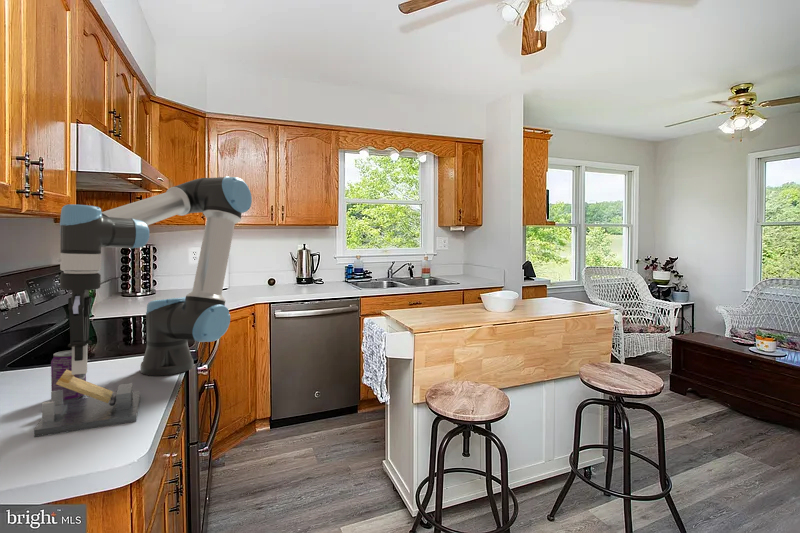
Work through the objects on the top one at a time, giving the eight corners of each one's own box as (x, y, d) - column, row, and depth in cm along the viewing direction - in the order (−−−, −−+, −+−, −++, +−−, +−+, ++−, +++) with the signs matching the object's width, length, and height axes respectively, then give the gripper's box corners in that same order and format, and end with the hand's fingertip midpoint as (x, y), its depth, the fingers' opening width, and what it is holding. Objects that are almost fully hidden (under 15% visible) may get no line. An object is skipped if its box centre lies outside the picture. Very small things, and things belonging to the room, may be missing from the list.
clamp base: (54, 407, 103) (53, 385, 103) (140, 396, 112) (140, 376, 112) (34, 437, 87) (33, 411, 87) (136, 421, 96) (136, 397, 96)
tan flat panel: (61, 376, 99) (67, 367, 100) (116, 397, 105) (122, 388, 105) (54, 385, 93) (61, 375, 94) (113, 406, 99) (119, 397, 99)
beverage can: (81, 391, 115) (81, 348, 114) (89, 397, 110) (89, 352, 110) (48, 398, 109) (47, 352, 109) (55, 405, 105) (54, 357, 104)
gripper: (66, 270, 101) (65, 367, 102) (53, 273, 90) (52, 383, 90) (104, 270, 105) (102, 364, 105) (96, 273, 93) (95, 379, 94)
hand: (79, 373), depth 98 cm, fingers closed
